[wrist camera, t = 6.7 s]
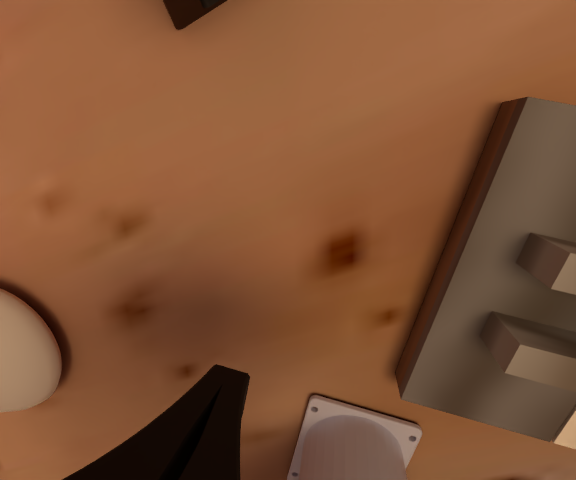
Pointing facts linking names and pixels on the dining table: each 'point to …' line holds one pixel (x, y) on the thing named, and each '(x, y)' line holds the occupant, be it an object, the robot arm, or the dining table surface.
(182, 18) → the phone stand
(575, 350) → the door and jamb
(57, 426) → the dining table surface
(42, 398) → the flower in vase
